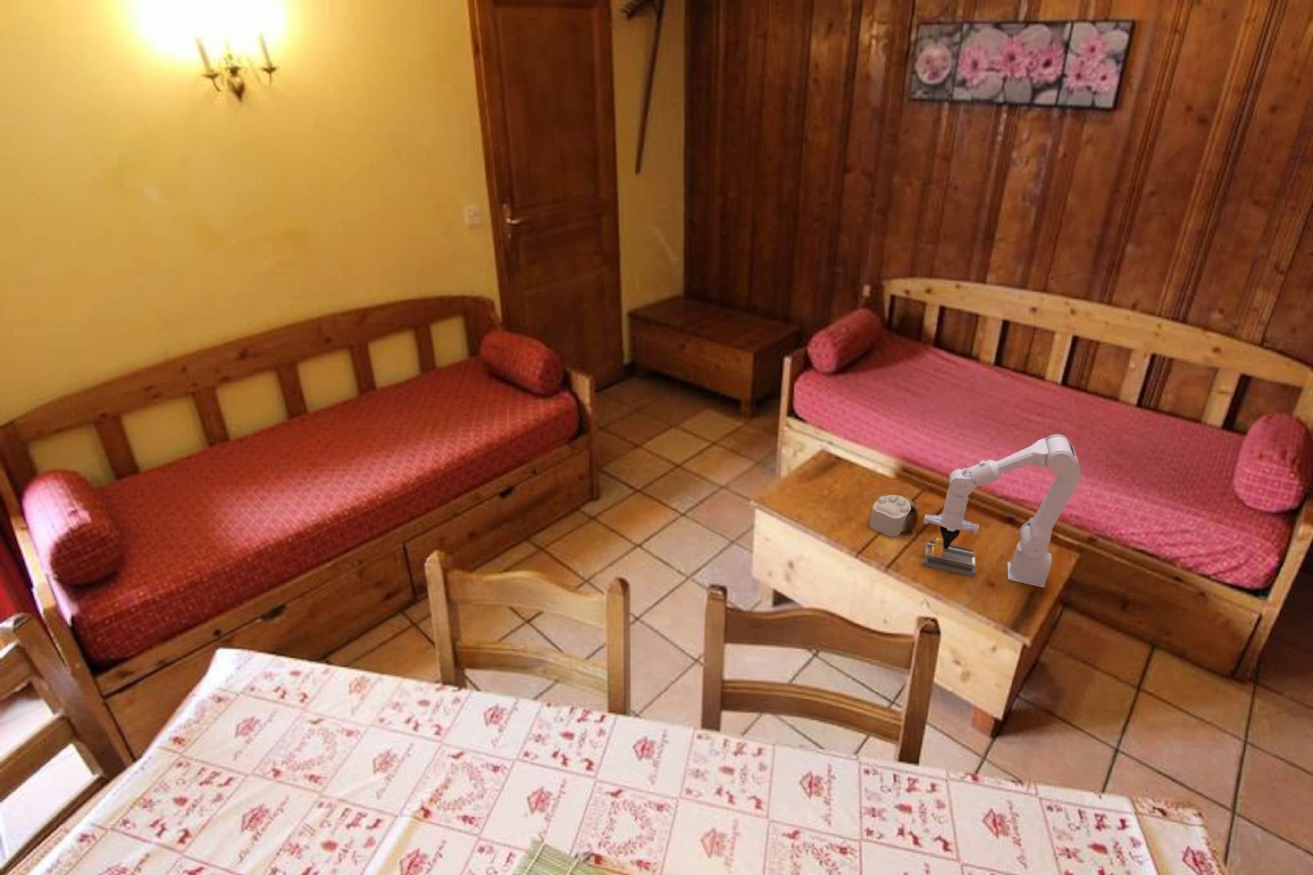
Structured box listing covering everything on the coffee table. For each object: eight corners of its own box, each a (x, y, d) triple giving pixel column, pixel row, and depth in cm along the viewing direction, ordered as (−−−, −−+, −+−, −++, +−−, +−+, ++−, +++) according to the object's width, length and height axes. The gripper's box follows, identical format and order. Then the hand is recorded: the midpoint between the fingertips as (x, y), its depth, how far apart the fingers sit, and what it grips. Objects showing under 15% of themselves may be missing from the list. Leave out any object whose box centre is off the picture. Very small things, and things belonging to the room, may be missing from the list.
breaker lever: (942, 550, 215) (945, 539, 212) (941, 559, 211) (944, 547, 209) (931, 548, 216) (934, 536, 213) (930, 556, 212) (933, 545, 210)
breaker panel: (974, 556, 215) (976, 549, 213) (974, 577, 207) (976, 569, 205) (925, 545, 219) (926, 538, 218) (923, 565, 211) (924, 558, 210)
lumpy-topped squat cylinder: (865, 526, 228) (869, 503, 224) (883, 508, 236) (888, 486, 232) (896, 539, 222) (900, 516, 218) (914, 520, 230) (918, 498, 226)
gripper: (926, 511, 204) (918, 549, 210) (982, 521, 199) (972, 560, 206) (928, 498, 209) (920, 535, 216) (982, 508, 205) (972, 545, 211)
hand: (945, 546), depth 211 cm, fingers closed
